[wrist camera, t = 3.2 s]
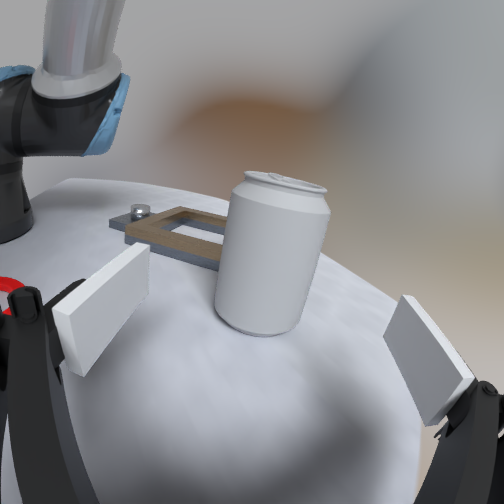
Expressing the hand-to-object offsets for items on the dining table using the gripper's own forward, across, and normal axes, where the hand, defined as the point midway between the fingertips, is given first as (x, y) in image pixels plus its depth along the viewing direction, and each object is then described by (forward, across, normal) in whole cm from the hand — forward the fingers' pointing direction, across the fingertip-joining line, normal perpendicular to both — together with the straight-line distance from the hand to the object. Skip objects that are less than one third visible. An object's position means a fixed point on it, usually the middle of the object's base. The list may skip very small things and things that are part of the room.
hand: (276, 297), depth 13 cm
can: (+9, 0, -7) cm, 11 cm away
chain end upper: (+24, -6, -7) cm, 26 cm away
